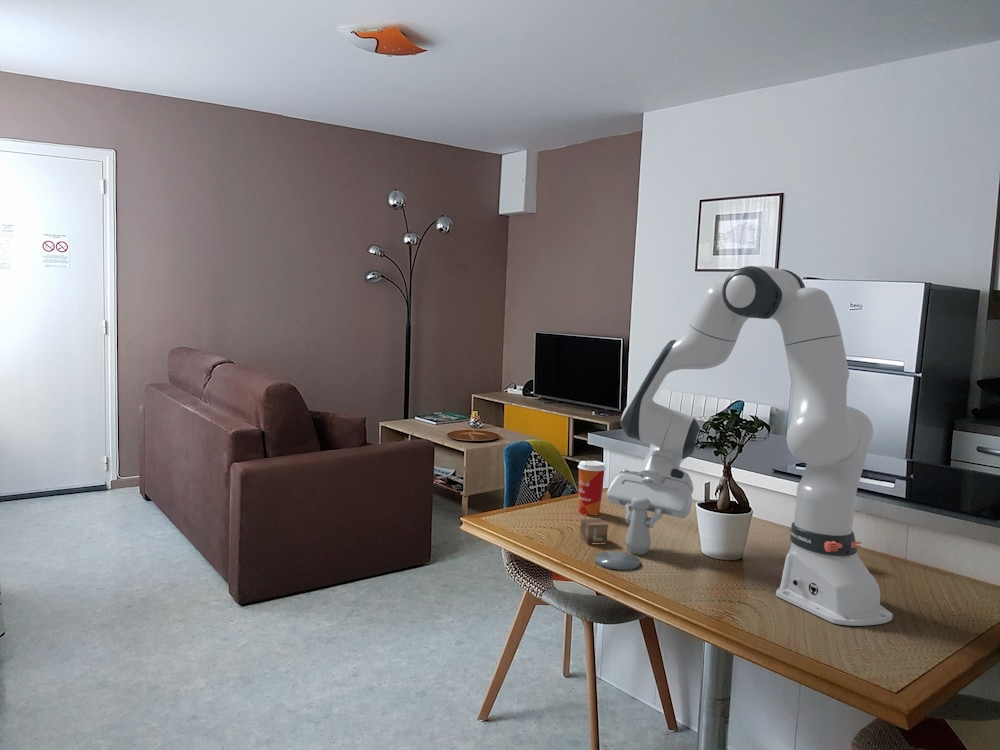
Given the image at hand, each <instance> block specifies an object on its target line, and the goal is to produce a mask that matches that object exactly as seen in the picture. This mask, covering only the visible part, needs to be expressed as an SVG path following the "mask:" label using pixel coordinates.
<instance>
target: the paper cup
mask: <svg viewBox="0 0 1000 750" xmlns="http://www.w3.org/2000/svg"><path fill="white" fill-rule="evenodd" d="M577 468H578V513H579V512H580V513H582V514H581V515H583V514H587V515H586V516H588V515H595V514H598V515H599V514H600V511H601V510H600V509H601V502H602V494H603V489H604V488H603V487H604V480H605V479H604V478H605V470H607V468H606V466H605V462H601V461H599V460H581V461H579V463H578V465H577ZM580 513H579V514H580ZM595 516H596V515H595Z"/></svg>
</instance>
